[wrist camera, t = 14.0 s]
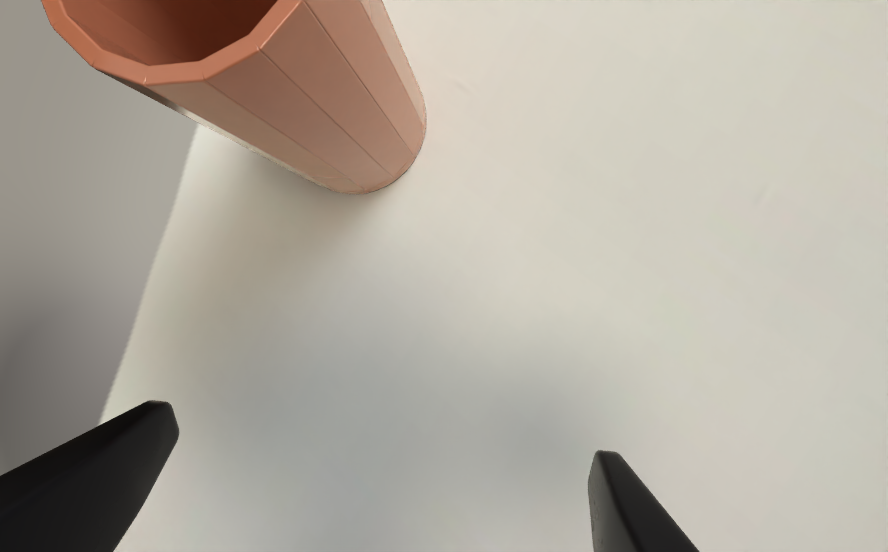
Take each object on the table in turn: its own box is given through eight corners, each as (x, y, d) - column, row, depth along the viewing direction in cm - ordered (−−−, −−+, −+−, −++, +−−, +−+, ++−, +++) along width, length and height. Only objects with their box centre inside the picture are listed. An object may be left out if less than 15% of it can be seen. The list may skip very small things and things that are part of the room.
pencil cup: (428, 190, 22) (329, 69, 9) (289, 198, 23) (30, 96, 10) (424, 45, 22) (322, -266, 9) (286, 58, 23) (25, -212, 10)
